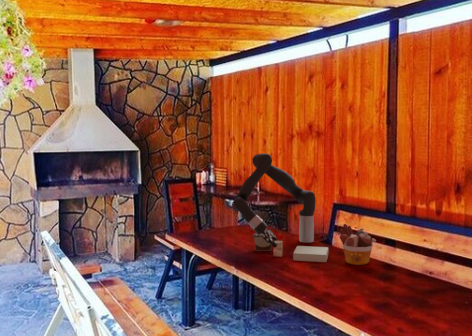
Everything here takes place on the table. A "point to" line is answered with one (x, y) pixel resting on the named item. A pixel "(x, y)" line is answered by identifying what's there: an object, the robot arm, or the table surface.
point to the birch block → (278, 248)
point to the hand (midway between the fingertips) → (277, 245)
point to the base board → (310, 254)
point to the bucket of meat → (356, 245)
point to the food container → (261, 243)
